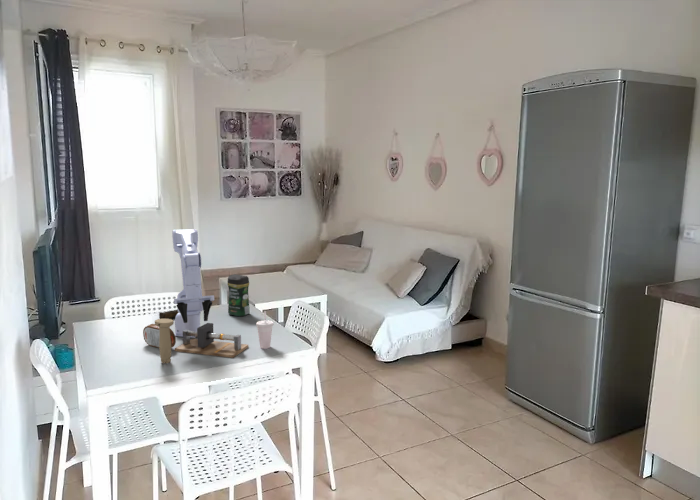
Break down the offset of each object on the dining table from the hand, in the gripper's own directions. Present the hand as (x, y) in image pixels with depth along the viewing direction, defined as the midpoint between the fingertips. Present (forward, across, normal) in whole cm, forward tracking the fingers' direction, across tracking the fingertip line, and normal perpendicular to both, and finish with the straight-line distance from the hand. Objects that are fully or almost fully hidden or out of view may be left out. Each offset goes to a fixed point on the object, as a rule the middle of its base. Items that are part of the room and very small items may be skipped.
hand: (195, 321), depth 199 cm
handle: (+13, -8, -11) cm, 19 cm away
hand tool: (-2, -22, +45) cm, 50 cm away
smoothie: (+12, +24, +7) cm, 28 cm away
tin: (+8, -16, +4) cm, 18 cm away
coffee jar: (-1, +4, +50) cm, 50 cm away
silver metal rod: (+11, +4, +3) cm, 12 cm away
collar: (+9, +2, +3) cm, 10 cm away
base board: (+11, +4, +3) cm, 12 cm away
